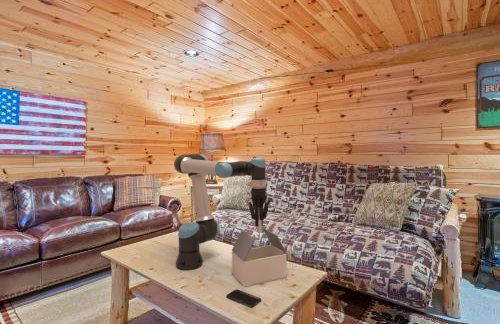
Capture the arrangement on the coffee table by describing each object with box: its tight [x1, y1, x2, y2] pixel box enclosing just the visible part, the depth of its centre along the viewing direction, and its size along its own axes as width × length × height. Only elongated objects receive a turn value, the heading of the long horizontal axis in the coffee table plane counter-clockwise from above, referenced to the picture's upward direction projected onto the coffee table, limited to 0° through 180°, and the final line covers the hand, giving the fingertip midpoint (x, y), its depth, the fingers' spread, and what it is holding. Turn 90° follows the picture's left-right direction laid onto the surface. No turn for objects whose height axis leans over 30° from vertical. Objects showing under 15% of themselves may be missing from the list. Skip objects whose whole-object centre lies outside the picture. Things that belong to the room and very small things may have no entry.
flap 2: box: [261, 226, 287, 254], centre depth 154 cm, size 16×12×1 cm
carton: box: [231, 244, 287, 288], centre depth 151 cm, size 16×24×12 cm, turn 115°
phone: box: [225, 288, 262, 309], centre depth 128 cm, size 8×1×15 cm
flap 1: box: [231, 230, 256, 261], centre depth 146 cm, size 16×12×1 cm
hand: (259, 232), depth 149 cm, fingers closed
